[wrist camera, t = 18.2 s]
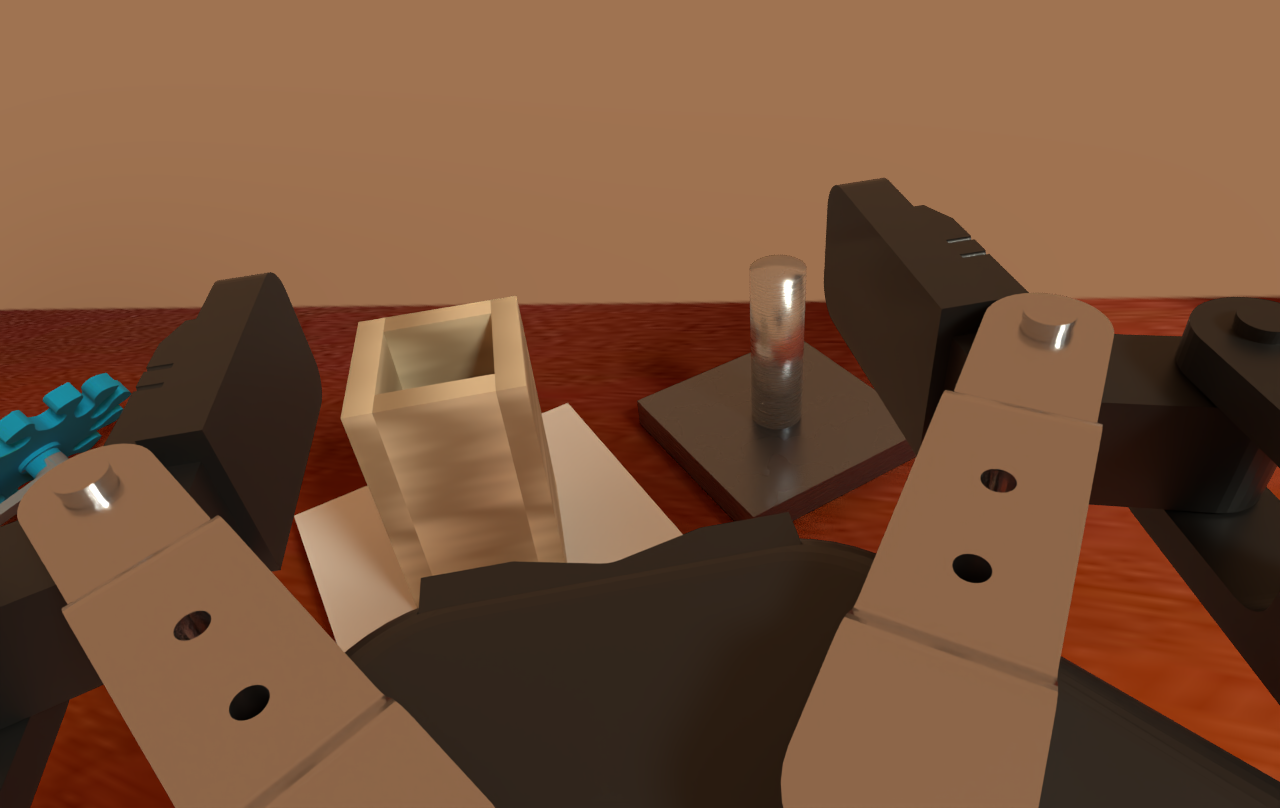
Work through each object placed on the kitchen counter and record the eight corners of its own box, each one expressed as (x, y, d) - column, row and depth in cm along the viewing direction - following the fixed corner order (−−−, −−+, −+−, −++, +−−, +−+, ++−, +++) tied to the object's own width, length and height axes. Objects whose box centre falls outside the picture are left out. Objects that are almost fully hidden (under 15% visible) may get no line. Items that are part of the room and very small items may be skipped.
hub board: (571, 425, 44) (549, 302, 39) (722, 602, 34) (715, 465, 29) (305, 538, 39) (243, 413, 34) (388, 784, 29) (317, 654, 24)
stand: (793, 356, 47) (797, 198, 41) (925, 452, 40) (952, 276, 34) (640, 423, 43) (620, 261, 38) (753, 541, 36) (751, 362, 30)
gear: (119, 398, 47) (97, 337, 38) (197, 473, 48) (193, 430, 39) (-82, 539, 41) (-159, 504, 33) (10, 621, 42) (-42, 609, 33)
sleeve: (556, 485, 38) (516, 295, 32) (570, 585, 33) (526, 385, 27) (425, 510, 37) (358, 322, 31) (419, 615, 33) (340, 418, 27)
